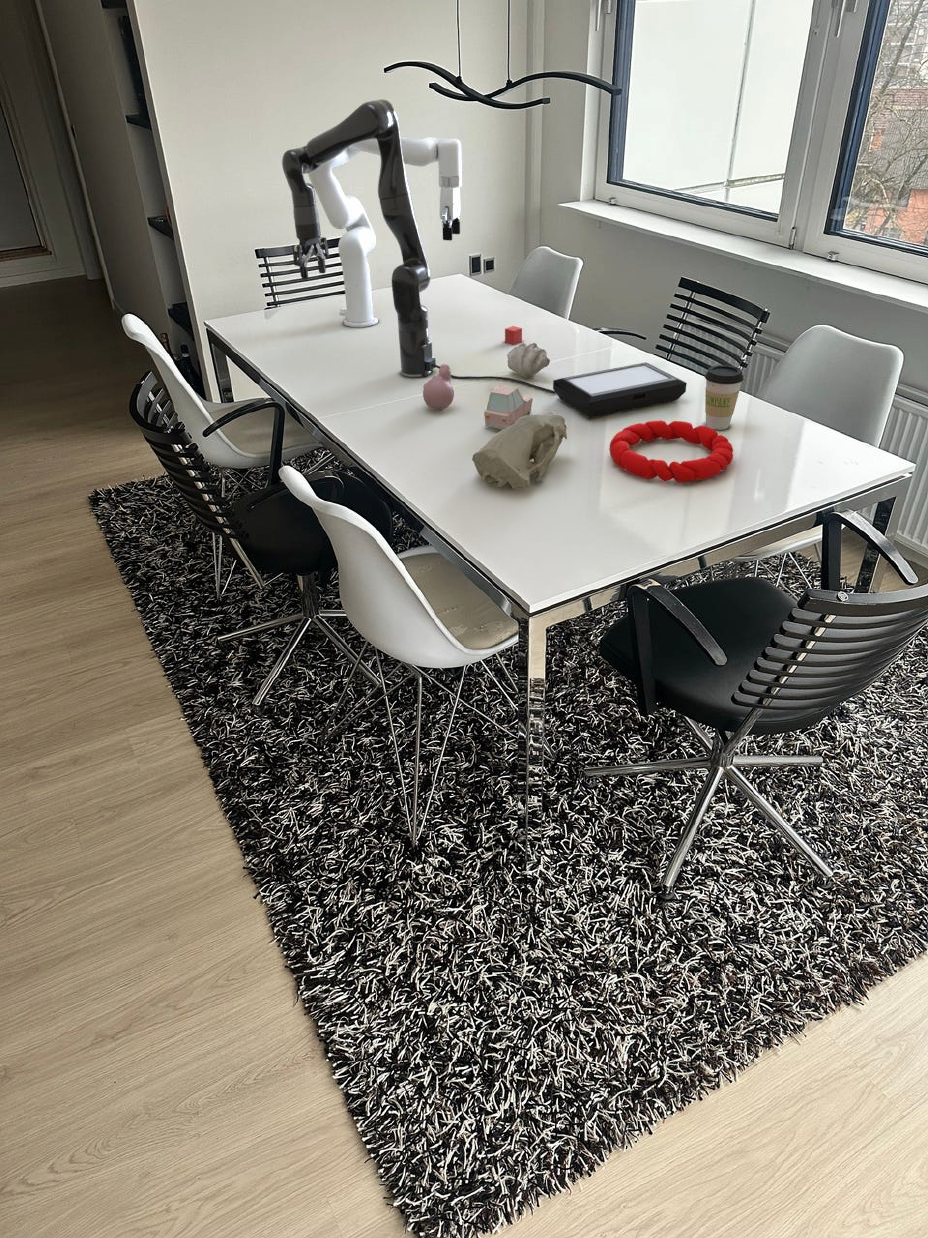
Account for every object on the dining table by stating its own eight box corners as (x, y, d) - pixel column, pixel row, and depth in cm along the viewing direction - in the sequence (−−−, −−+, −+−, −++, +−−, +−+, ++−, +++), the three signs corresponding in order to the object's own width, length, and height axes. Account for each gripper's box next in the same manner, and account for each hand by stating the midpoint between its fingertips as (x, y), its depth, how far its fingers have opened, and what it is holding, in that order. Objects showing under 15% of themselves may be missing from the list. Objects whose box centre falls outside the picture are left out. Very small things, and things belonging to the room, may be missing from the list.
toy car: (536, 415, 249) (537, 380, 243) (510, 434, 238) (510, 398, 232) (507, 409, 253) (507, 375, 247) (480, 428, 242) (479, 393, 236)
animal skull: (489, 499, 227) (452, 459, 211) (541, 418, 229) (509, 372, 213) (540, 522, 217) (505, 481, 201) (594, 437, 219) (564, 390, 203)
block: (513, 339, 306) (513, 325, 304) (522, 341, 304) (522, 327, 301) (504, 342, 304) (504, 328, 301) (513, 344, 302) (513, 330, 299)
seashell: (522, 385, 268) (523, 352, 263) (503, 370, 280) (503, 338, 274) (553, 380, 271) (554, 348, 266) (533, 365, 283) (533, 334, 277)
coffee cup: (691, 421, 242) (698, 367, 233) (722, 415, 245) (730, 362, 236) (712, 434, 234) (719, 379, 226) (743, 428, 237) (752, 373, 228)
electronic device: (589, 399, 240) (553, 377, 255) (587, 421, 244) (552, 398, 259) (687, 380, 251) (647, 359, 266) (684, 401, 254) (645, 380, 269)
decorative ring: (590, 427, 228) (644, 464, 203) (694, 411, 235) (759, 444, 210) (589, 454, 232) (643, 493, 207) (692, 437, 239) (756, 473, 214)
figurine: (441, 398, 262) (440, 358, 255) (460, 410, 254) (458, 368, 247) (414, 404, 258) (412, 363, 251) (432, 416, 250) (430, 374, 243)
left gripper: (446, 176, 300) (448, 231, 309) (431, 185, 286) (433, 242, 296) (468, 177, 298) (468, 231, 308) (454, 186, 284) (455, 242, 294)
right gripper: (301, 226, 267) (308, 282, 276) (330, 217, 277) (337, 271, 286) (282, 224, 270) (290, 280, 279) (312, 215, 280) (319, 269, 289)
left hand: (451, 236), depth 302 cm, fingers open, 9 cm apart
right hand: (313, 275), depth 283 cm, fingers open, 8 cm apart
